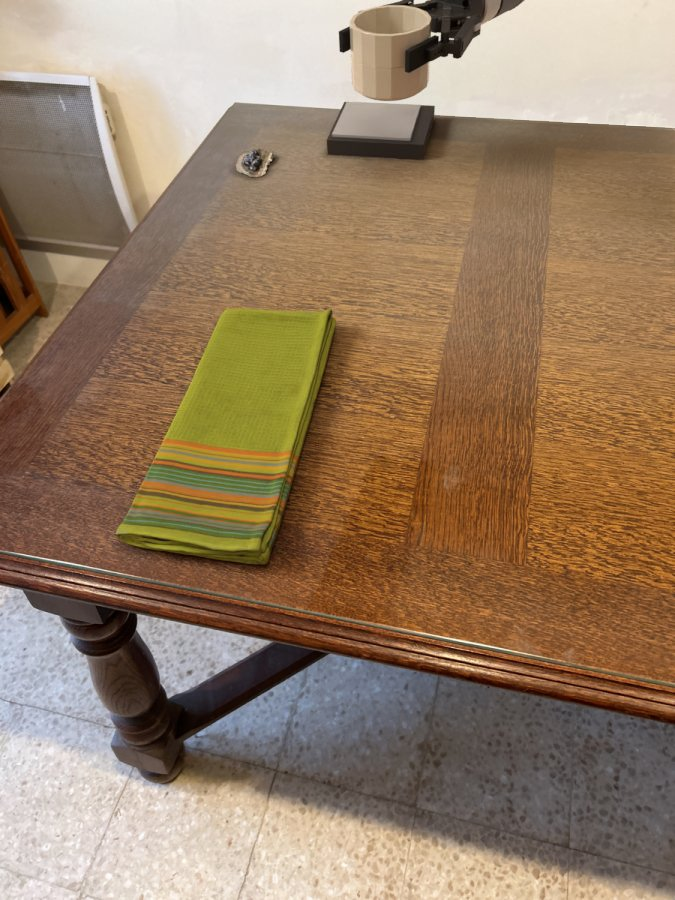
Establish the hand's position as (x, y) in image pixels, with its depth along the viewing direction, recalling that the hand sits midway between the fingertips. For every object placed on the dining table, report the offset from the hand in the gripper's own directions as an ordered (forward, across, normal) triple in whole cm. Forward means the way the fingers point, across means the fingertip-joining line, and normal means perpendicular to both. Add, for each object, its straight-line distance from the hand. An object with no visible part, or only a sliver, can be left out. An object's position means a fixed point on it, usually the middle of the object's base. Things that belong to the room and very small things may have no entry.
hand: (373, 51), depth 99 cm
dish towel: (+51, -23, -18) cm, 59 cm away
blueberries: (+10, +18, -18) cm, 27 cm away
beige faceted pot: (-4, 0, -6) cm, 7 cm away
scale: (-10, +7, -18) cm, 22 cm away
